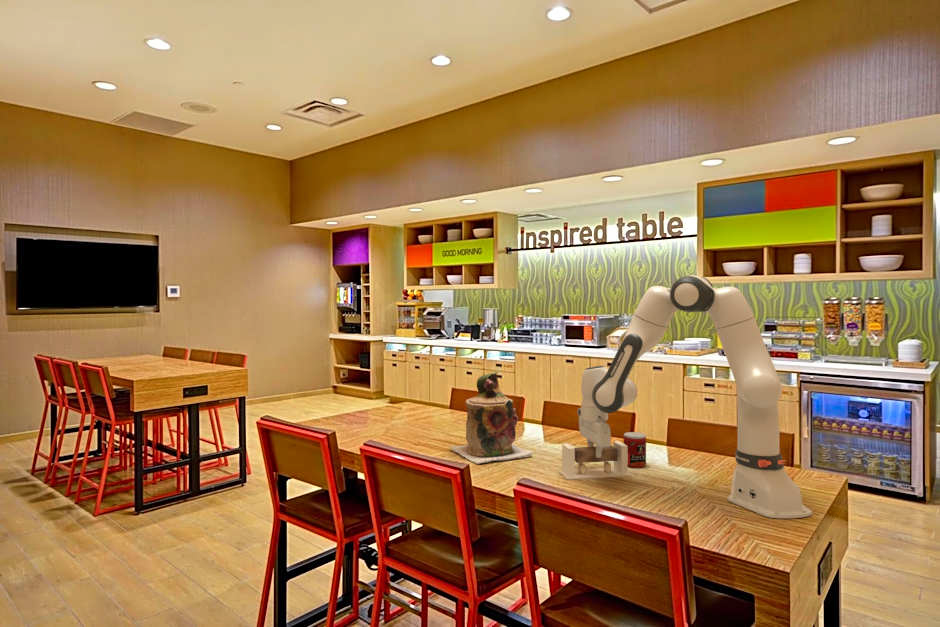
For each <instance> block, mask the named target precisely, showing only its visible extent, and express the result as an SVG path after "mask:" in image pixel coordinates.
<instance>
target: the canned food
mask: <svg viewBox="0 0 940 627" xmlns="http://www.w3.org/2000/svg"><path fill="white" fill-rule="evenodd" d="M623 444H625V445H627V446H628V468H633V469H642V468H645V467H646V465H647V434H645V433H642V432H637V431H635V432H634V431H629V432H625V433H624V434H623Z"/></svg>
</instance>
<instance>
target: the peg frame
mask: <svg viewBox="0 0 940 627" xmlns="http://www.w3.org/2000/svg"><path fill="white" fill-rule="evenodd" d="M561 444H562V446H561V452H562V453H561V454H562V458H561V459H562V460H561V463H562V465H561V466H562V467H561V468H562V470H559V474H560V475H562V477H564V478H565V479H566V480H584V479H587V480H588V479H602V478H603V479H604V478H605V479H606V478H618V477H619V478H621V477H631V473H630V472H628V469H629V467H628V446H627V445H625V444H624V442H621V441H619V440H616V441H615V440H614V441H613V447H615V448H617V461H613V467H612V464H611V462H610V461H606V462H603V468H586V465H585V464H584V463H577V464H578V469H575V468H576V463H575V462H576V461H575V448H576V447H573V445H571V444H570V443H566V442H565V443H561ZM609 462H610V463H609Z"/></svg>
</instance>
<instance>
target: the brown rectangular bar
mask: <svg viewBox="0 0 940 627" xmlns="http://www.w3.org/2000/svg"><path fill="white" fill-rule="evenodd" d="M574 448H575V462H576V463H577V464H578V463H583V464H585V463H586V464H588V463H602V462H603V463H604V462H614V461H617V448H615V447H614V445H611V446H610V447H609V448H603V449H602V452H601V457H600V458H597V457H596V456H595V451H596V446H594V447H588V446H580V447H574Z"/></svg>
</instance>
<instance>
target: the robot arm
mask: <svg viewBox="0 0 940 627" xmlns="http://www.w3.org/2000/svg"><path fill="white" fill-rule="evenodd" d="M678 311H681V312H685V313H700V312H701V313H703V312H706V313H707V314H708V315H709V316H710V318H711V320H712V323H713V325H714V327H715V331H716V333H717V337H718V339H719V342H720V344H721V347H722V350H723V352H724V354H725V355H724V356H725V357H726V360H727V362H728V365H729V368H730V372H731V374H732V376H733V378H734V382H735V384H736V397H737V398H736V400H737V401H736V402H737V403H736V406H737V408H736V409H737V448H736V449H735V462H736V466H735V469H734V470H733V472H732V479H731V491H730V495H728V496H727V501H728V502H730V503H732V504H735V505H737V506H740V507H741V508H745V509H747V510H750V511H751V512H754V513H756V514H758V515H762V516H764V517H766V518H771V519H798V518H806V517H810V516H812V514H813V512H812V510H811V509H810V508H809V507H807V506H806V505H804V504H803V499H802V493H801V490H800V487H799V485H798V484H796V483H795V481H793V480H792V478H791V476H790V475H789V474H788V473H787V471H786V470H785V465H787V463H786V462H787V460H786V459H783V457H782V453H781V452H780V437H781V436H780V430H781V428H780V418H779V417H780V415H779V414H780V413H779V400H780V399H781V397H782V394H783V386H782V382H781V380H780V377H779V375H778V372H777V370H776V368H775V366H774V363H773V360H772V358H771V355H770V354H769V353H770V352H769V350H768V348H767V346H766V344H765V342H764V339H763V336H762V334H761V331H760V328H759V325H758V323H757V321H756V318H755V315H754V313H753V311H752V309H751V306H750V305H749V302H748V301H747V299H746V297H745V296H744V294H743V293H742V291H741V290H740V289H739V288H738V287H734V286H722V287H718V288H715V287H714V286H713V284H712V283H711V281H709V280H708V279H707V278H705V277H703V276H700V275H696V274H690V275H686V276H681V277H679V278H678V279H676V280H675V281H674V282H673V284H671V287H665V286H661V285H653V286H650V287H648V289H647V290H646V291H645V292H644V294H643V296H642V297H641V299H640V301H639V303H638V304H637V307H636V309H635V311H634V313H633V315H632V318H631V320H630V322H629V325H628V327H627V330H626V332H625V334H624V337H623V339H622V342H621V344H620V345H619V348H618V350H617V352H616V354H615V356H614V357H613V360H612V361H611V363H610V365H609V367H608V368H607V367H606V366H604V365H595V366H590V367H587V368H585V369H584V370H583V371H582V375H581V389H580V391H581V393H580V394H581V397H582V400H581V406H580V408H578V409H577V415H578V428H579V433H580V436H582V437H583V438H585V439H586V444H587V447H596V451H595V456H596V457H597V458H600V457H601V452H602V449H603V448H609V447H610V446H612V436H611V435H612V434H611V427H610V425H609V423H607V421H608V420H609V414H612V413H615V412H617V411H619V410H620V409H623V408H625V407H627V406H629V405H631V404H632V403H633V402H634V401H635V400H637V396H638V389H637V386H636V384H635V382H634V381H633V380H631V379H630V378H629V376H630V374H631V373H632V372H631V371H632V370H633V368H634V366H635V365H636V363H637V362H638V360H639V359H640V358H641V357H642V355H644V354H646V353H647V352H649V351H650V350H652V349H653V348H655V347H656V346H657V345H659V343H660V342H661V340H662V338H664V335H665V333H666V332H667V329H668V327H669V325H670V323H671V320H672V319H673V317H674V315H675V313H677V312H678Z"/></svg>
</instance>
